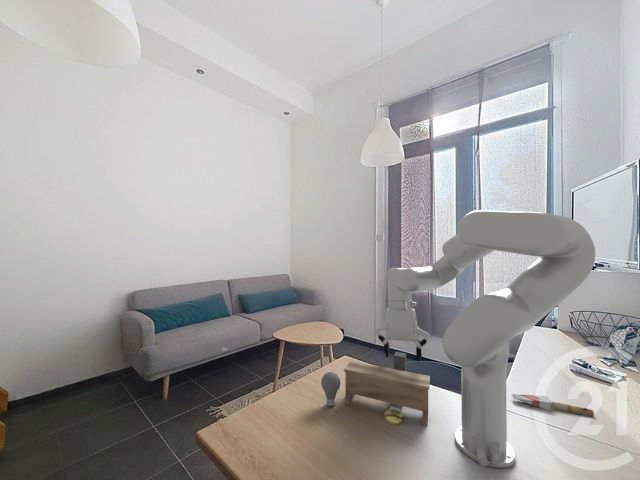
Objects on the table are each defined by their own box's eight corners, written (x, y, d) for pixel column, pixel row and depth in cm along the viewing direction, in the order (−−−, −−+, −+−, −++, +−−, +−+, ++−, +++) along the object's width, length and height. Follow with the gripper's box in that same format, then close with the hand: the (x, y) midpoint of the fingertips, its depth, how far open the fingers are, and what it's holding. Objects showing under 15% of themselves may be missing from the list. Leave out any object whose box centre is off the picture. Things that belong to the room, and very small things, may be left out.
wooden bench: (429, 426, 72) (429, 387, 73) (343, 403, 83) (344, 369, 83) (430, 412, 79) (430, 376, 79) (350, 392, 89) (350, 360, 89)
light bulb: (344, 405, 82) (344, 372, 82) (331, 413, 78) (331, 379, 78) (329, 397, 86) (329, 366, 87) (317, 405, 82) (317, 372, 82)
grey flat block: (401, 416, 77) (401, 367, 77) (389, 412, 78) (389, 365, 79) (406, 395, 88) (406, 353, 88) (395, 393, 89) (395, 351, 89)
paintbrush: (510, 388, 87) (588, 405, 80) (510, 396, 87) (588, 414, 80) (514, 394, 84) (596, 412, 76) (514, 403, 84) (596, 421, 76)
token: (401, 428, 72) (401, 422, 72) (383, 423, 74) (383, 417, 74) (403, 417, 77) (403, 412, 77) (386, 413, 79) (386, 407, 79)
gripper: (428, 304, 87) (431, 357, 86) (376, 302, 94) (378, 350, 93) (427, 308, 81) (430, 365, 79) (371, 305, 88) (373, 358, 86)
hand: (402, 357), depth 86 cm, fingers open, 9 cm apart
